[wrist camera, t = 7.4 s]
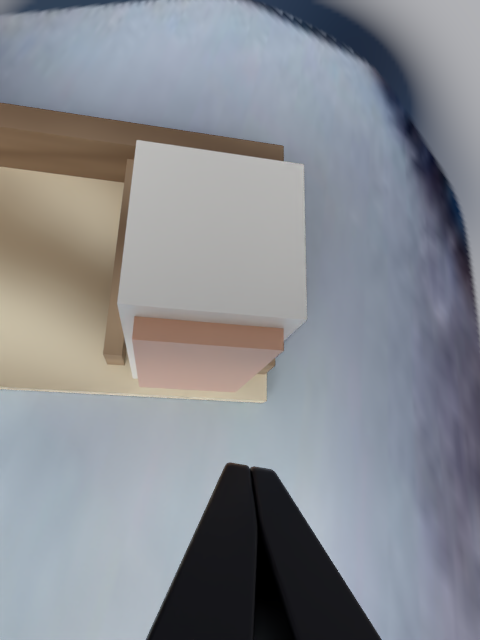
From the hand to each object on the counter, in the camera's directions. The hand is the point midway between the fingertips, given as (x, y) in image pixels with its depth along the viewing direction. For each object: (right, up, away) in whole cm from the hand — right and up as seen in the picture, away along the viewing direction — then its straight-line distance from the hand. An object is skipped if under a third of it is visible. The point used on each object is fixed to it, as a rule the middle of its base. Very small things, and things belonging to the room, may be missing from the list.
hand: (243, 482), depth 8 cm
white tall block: (-2, +2, +9) cm, 10 cm away
